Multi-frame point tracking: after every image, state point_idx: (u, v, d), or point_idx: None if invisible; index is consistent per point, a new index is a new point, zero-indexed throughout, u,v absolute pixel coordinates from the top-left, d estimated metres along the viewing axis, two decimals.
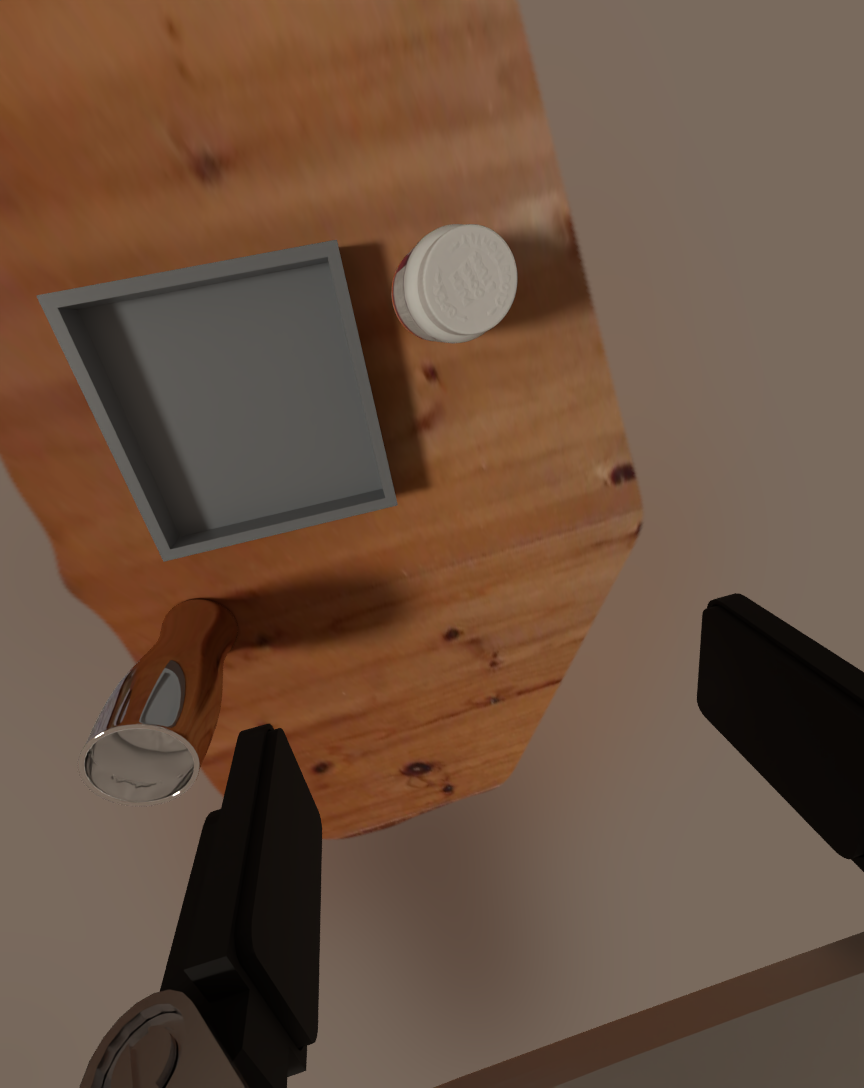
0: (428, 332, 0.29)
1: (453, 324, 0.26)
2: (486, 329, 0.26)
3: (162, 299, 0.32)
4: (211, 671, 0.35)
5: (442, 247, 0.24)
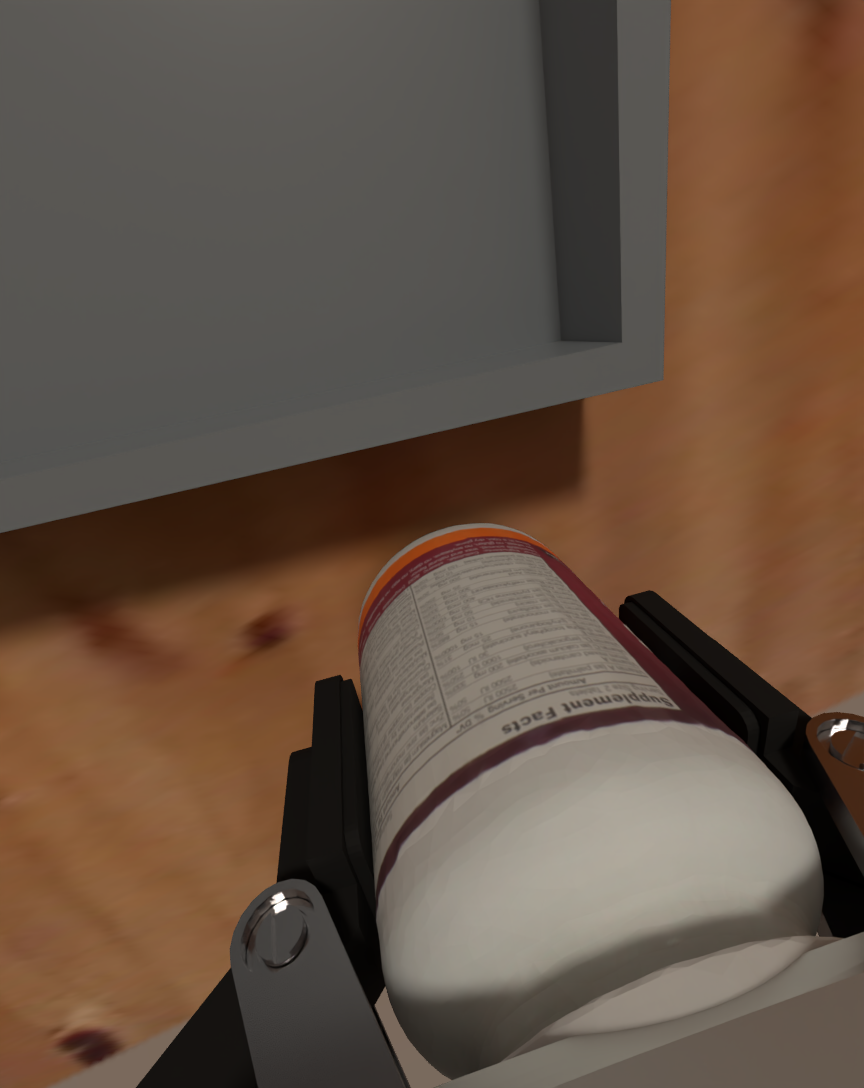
0: (426, 880, 0.06)
1: None
2: None
3: None
4: None
5: None
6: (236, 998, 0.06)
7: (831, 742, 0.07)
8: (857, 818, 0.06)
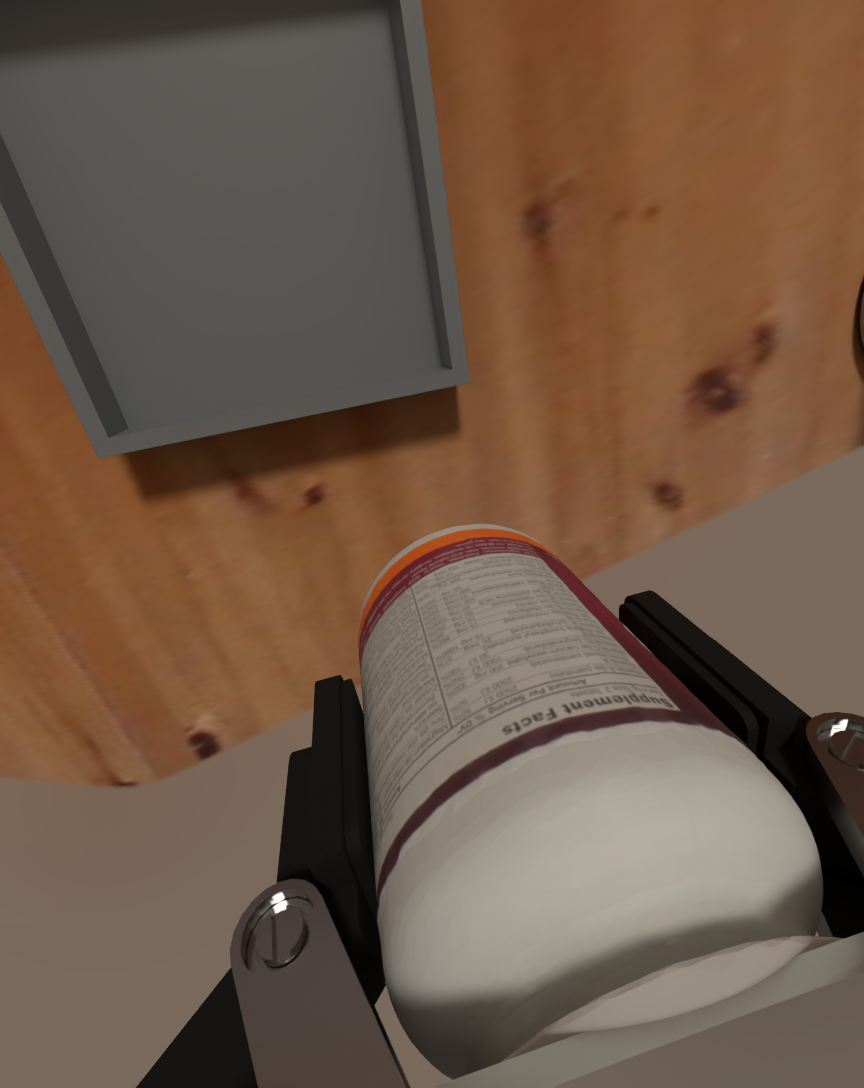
0: (427, 880, 0.06)
1: None
2: None
3: (394, 104, 0.21)
4: None
5: None
6: (237, 997, 0.06)
7: (831, 742, 0.07)
8: (857, 818, 0.06)
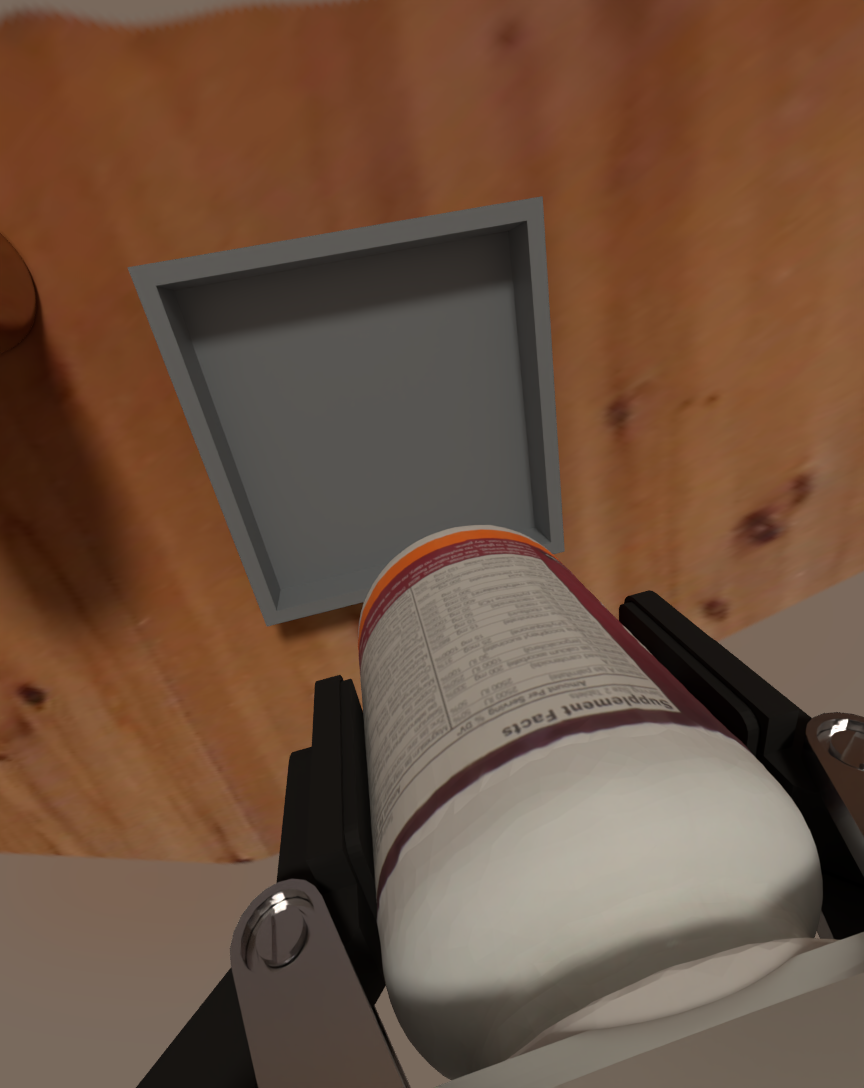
0: (427, 882, 0.06)
1: None
2: None
3: (512, 344, 0.26)
4: None
5: None
6: (236, 998, 0.06)
7: (831, 742, 0.07)
8: (857, 818, 0.06)
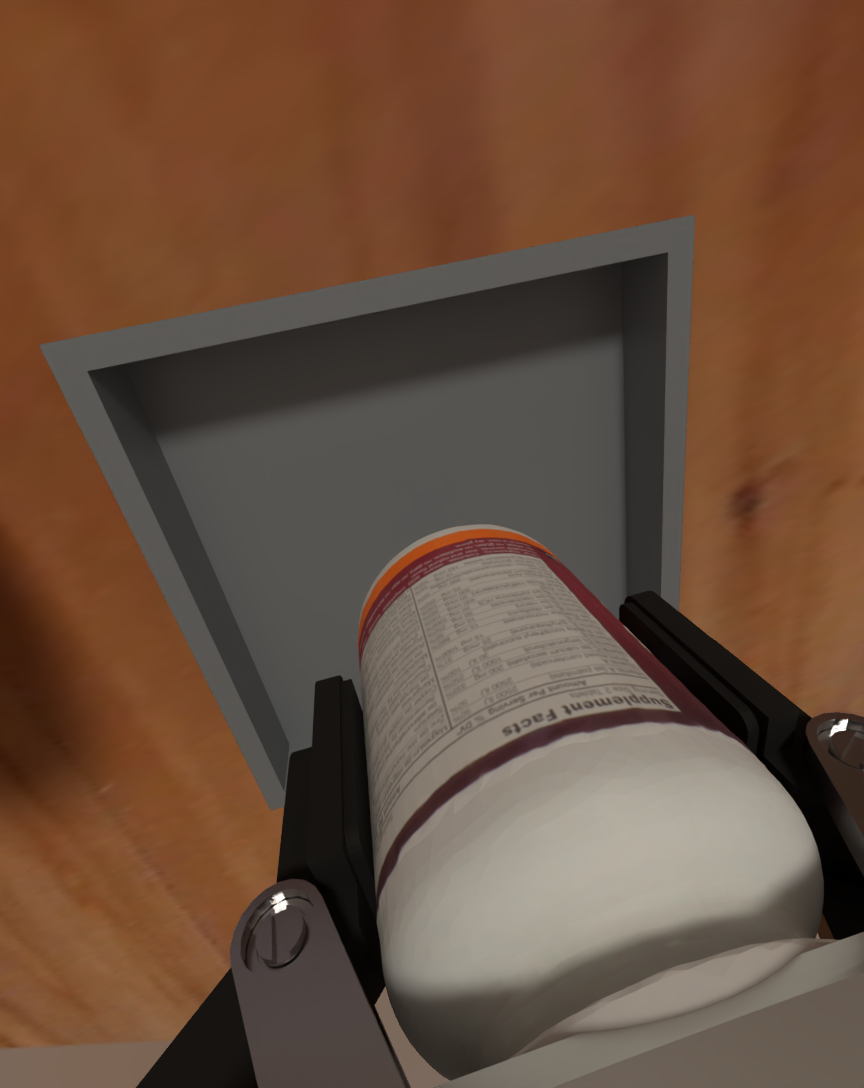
0: (427, 882, 0.06)
1: None
2: None
3: (616, 420, 0.18)
4: None
5: None
6: (236, 998, 0.06)
7: (831, 742, 0.07)
8: (857, 818, 0.06)
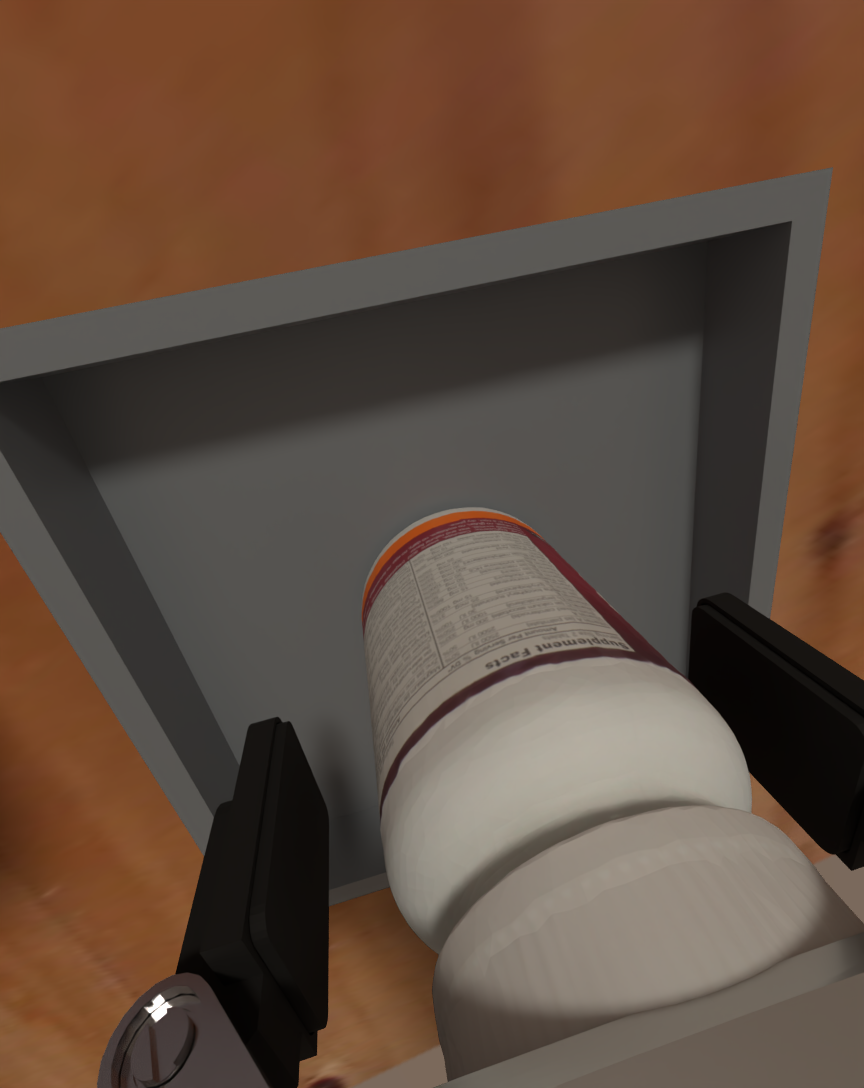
0: (422, 782, 0.07)
1: None
2: None
3: (687, 444, 0.15)
4: None
5: None
6: None
7: None
8: None
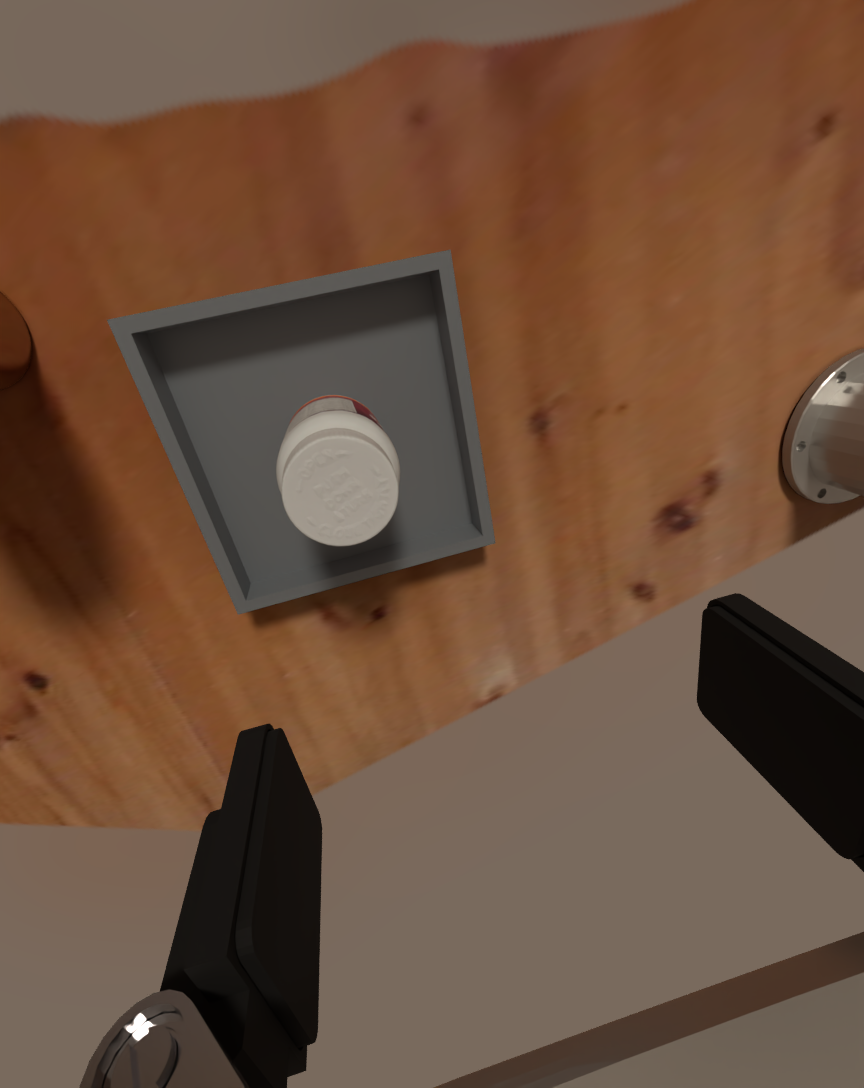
0: (284, 443, 0.23)
1: (291, 476, 0.20)
2: (290, 517, 0.21)
3: (440, 367, 0.31)
4: None
5: (373, 457, 0.21)
6: None
7: None
8: None
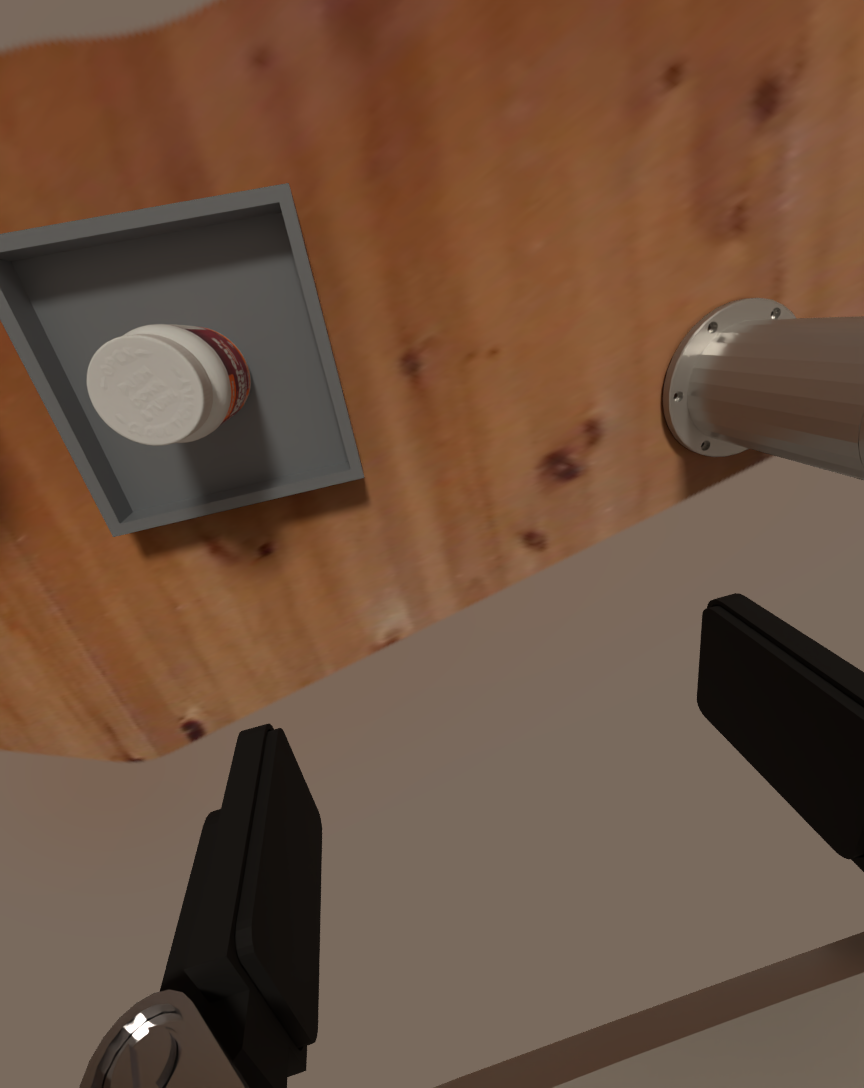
0: None
1: (94, 373, 0.22)
2: (99, 414, 0.23)
3: (302, 304, 0.33)
4: None
5: (172, 358, 0.23)
6: None
7: None
8: None
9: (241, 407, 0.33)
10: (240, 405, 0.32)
